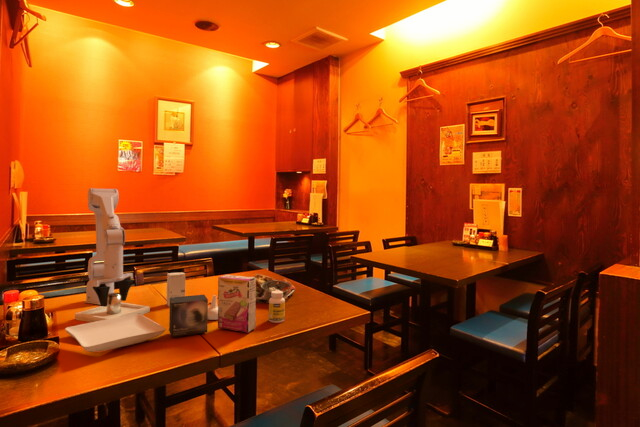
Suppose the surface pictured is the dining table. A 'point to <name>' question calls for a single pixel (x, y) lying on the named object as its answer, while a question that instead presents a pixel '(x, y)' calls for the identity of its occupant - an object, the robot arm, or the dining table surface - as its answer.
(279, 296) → the supplement bottle
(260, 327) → the dining table surface
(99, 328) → the salad plate
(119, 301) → the cylinder
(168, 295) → the skincare box
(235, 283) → the candy bar box
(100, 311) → the tray
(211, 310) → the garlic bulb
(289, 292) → the food tray
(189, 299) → the small box
